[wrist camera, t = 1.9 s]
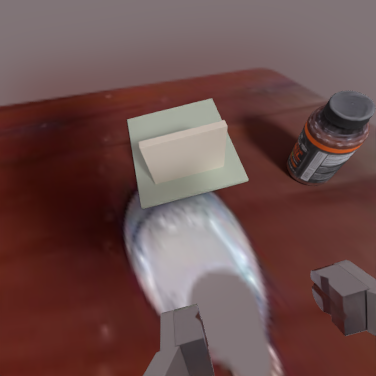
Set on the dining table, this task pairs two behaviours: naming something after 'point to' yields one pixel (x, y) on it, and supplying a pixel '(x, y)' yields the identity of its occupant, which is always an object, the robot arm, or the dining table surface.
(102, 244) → the dining table surface
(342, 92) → the supplement bottle
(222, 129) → the tile
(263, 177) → the dining table surface
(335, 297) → the robot arm
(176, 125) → the mat
